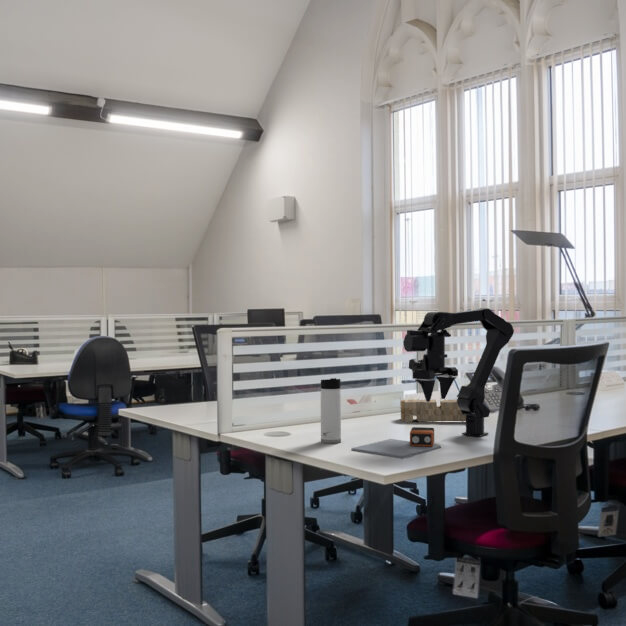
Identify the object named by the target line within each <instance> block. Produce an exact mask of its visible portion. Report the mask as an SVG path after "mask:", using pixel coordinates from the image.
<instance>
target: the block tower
mask: <svg viewBox="0 0 626 626" xmlns="http://www.w3.org/2000/svg"><path fill="white" fill-rule="evenodd" d="M439 402H440V405H437V399H430V402H427V401H426V399H420V398H419V399H403V398H402V399H401V398H400V402H399V403H400V405H399V406H400V421H401V422H405V423H411V422H410V421H413V422H414V416H415V417H416V422H417V421H466V415H463V414H462V413H461V410H460V408H459V407H458V404H457V399H443V400H439Z"/></svg>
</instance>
